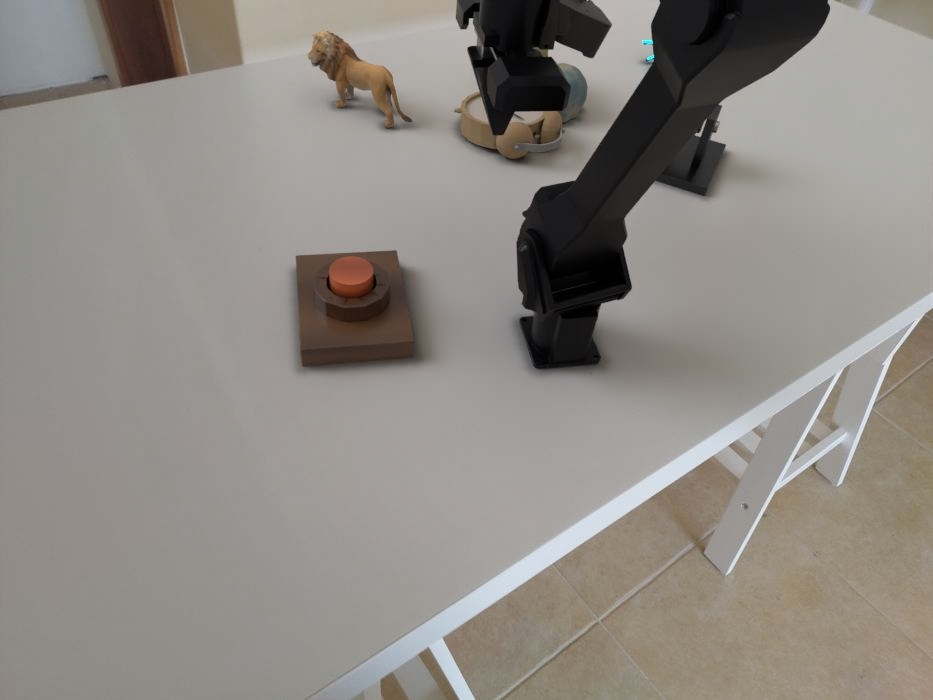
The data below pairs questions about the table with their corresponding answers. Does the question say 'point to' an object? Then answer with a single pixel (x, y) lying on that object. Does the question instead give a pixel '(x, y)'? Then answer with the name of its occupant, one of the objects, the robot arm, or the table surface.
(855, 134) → the table surface
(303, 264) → the button block
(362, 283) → the button
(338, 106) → the lion figurine
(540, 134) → the alarm clock
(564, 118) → the sculpture
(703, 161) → the bracket
